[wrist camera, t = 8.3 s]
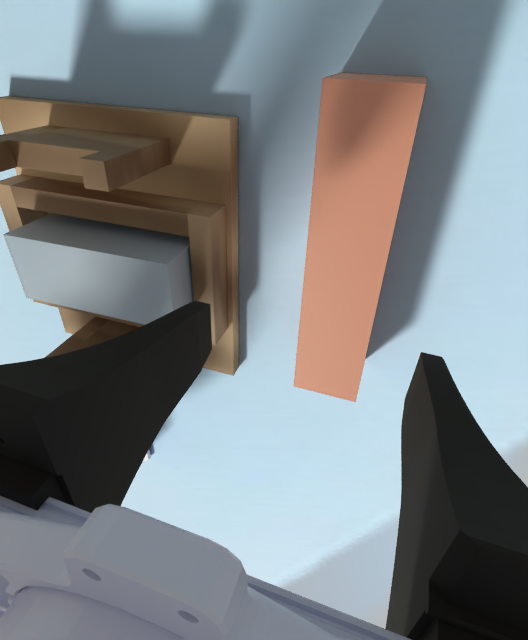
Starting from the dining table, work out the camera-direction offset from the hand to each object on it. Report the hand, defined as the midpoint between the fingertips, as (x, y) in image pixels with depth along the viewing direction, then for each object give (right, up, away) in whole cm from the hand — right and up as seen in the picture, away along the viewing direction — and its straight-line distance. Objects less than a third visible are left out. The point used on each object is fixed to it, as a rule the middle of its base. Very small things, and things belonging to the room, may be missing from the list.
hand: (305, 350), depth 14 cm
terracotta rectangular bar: (+3, +5, +8) cm, 10 cm away
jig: (-10, +6, +12) cm, 16 cm away
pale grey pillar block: (-10, +5, +11) cm, 16 cm away
